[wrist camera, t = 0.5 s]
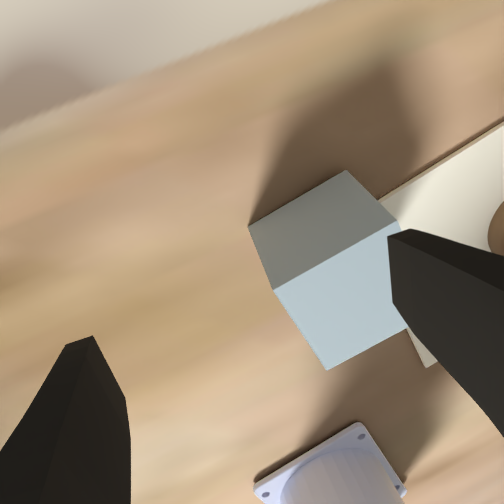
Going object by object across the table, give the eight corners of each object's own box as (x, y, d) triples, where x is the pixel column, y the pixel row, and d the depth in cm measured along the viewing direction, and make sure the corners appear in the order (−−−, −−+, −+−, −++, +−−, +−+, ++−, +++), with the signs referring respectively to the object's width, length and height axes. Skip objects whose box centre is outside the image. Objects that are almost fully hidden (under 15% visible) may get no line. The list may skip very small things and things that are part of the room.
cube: (383, 250, 23) (435, 312, 19) (294, 300, 24) (326, 370, 20) (346, 169, 21) (397, 220, 17) (247, 226, 21) (273, 290, 17)
